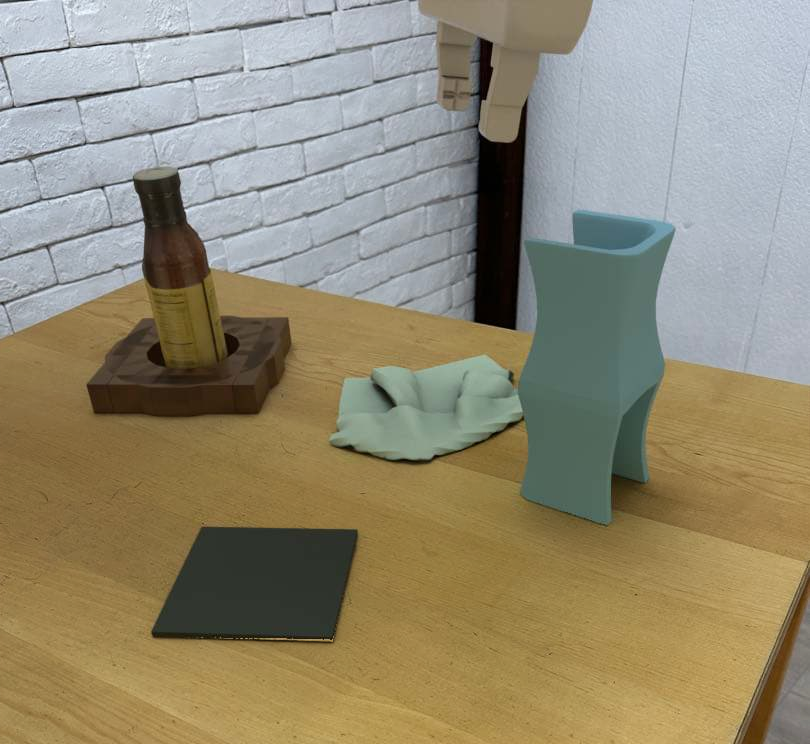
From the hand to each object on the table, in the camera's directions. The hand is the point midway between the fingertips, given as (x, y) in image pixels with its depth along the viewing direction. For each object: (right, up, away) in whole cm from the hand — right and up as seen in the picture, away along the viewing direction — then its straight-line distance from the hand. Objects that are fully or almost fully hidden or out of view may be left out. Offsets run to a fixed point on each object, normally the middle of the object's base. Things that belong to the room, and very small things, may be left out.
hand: (472, 123), depth 52 cm
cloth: (-1, -12, +32) cm, 34 cm away
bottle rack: (-25, -8, +39) cm, 47 cm away
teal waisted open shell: (+10, -20, +19) cm, 30 cm away
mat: (-14, -27, +11) cm, 32 cm away
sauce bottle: (-25, -8, +39) cm, 47 cm away
